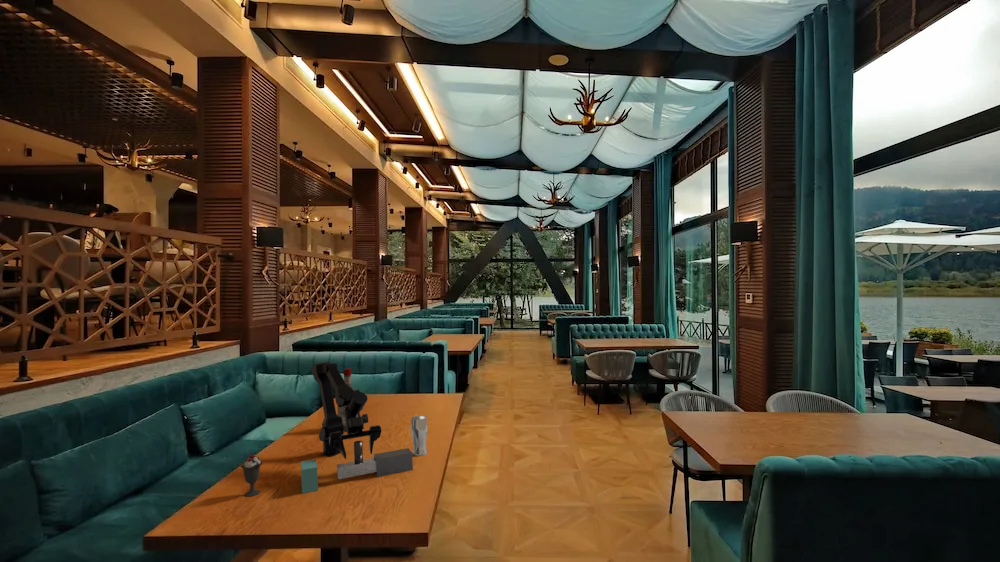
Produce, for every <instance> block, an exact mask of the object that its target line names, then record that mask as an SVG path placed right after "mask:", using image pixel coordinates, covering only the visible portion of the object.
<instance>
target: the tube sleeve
mask: <svg viewBox="0 0 1000 562" xmlns="http://www.w3.org/2000/svg"><path fill="white" fill-rule="evenodd" d="M412 453H413V451H412V450H411V449H410V448H409V447H407V448H402V449H396V450H395V449H394V450H391V451H384V452H378V453H374V454H373V458H375V459H376V467H377V472H374V473H375V475H376V478H378V477H384V476H388V475H394V474H400V473H404V472H409V471H414V462H413V461H414V460H413V454H412Z"/></svg>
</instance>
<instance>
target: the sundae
mask: <svg viewBox="0 0 1000 562" xmlns="http://www.w3.org/2000/svg"><path fill="white" fill-rule="evenodd" d="M252 452H253V451H250V452H249V456H248V457H247V460H246V461H245V462H244V463H243V464H242V465H241V466H240V468H241V469H242V471H243V476H244V480H245V482H246V483H247V484H249V490H248V491H247V492H245V493H244V494H243V496H244V497H247V498H248V497H249V498H250V496H251V497H254V496H255V497H256V496H257V495H259V494H260V493H261V490H259V489H255V484H256V483H257V481H258V480H259V477H260V469H261V466H262V465H263V460H260V457H258V456H257V455H255V454H252Z"/></svg>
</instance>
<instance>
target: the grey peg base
mask: <svg viewBox="0 0 1000 562" xmlns="http://www.w3.org/2000/svg"><path fill="white" fill-rule="evenodd" d="M363 449H364V448H363V441H362V440H356V441H354V442H353V455H354V456H353V457H354V458H353V459H354V461H349V462H348V461H347V462H343V463H338V464H336V476H337V479H338V480H343V479H347V478H353V477H358V476H363V475H368V474H373V473H375V472H377V467H376V459H375V458H374V457H371V458H366V459H364V456H363V453H364V451H363Z"/></svg>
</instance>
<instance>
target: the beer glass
mask: <svg viewBox="0 0 1000 562" xmlns="http://www.w3.org/2000/svg"><path fill="white" fill-rule="evenodd" d="M427 418H428V417H427V416H426V415H414V416H412V417H410V435H411V440H412V456H415V457H421V456H424V455H427V454H428V450H427V436H428V420H427Z"/></svg>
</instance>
